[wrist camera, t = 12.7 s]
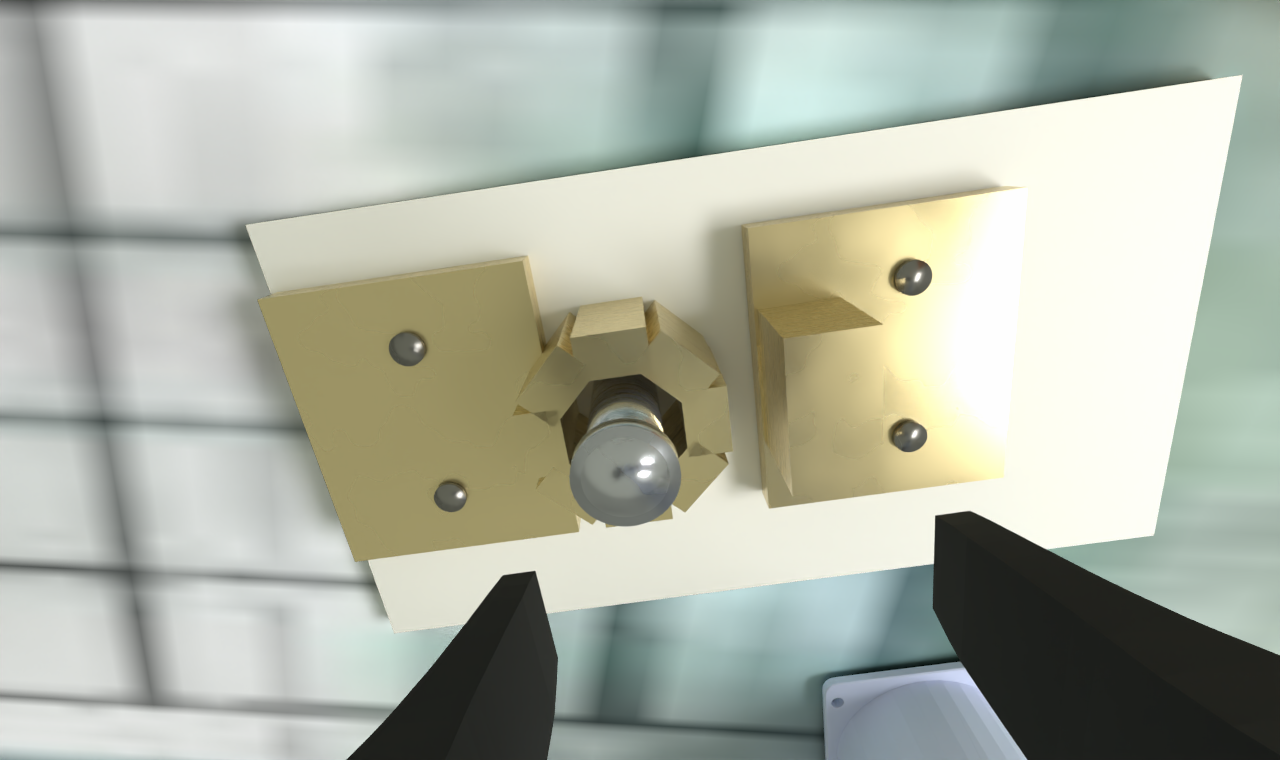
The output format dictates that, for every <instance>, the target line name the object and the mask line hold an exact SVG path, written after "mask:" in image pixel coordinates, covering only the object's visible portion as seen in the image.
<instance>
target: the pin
mask: <svg viewBox="0 0 1280 760" xmlns="http://www.w3.org/2000/svg"><path fill="white" fill-rule="evenodd" d="M569 479H570V487H571V491H572V493H573V496H574V498H575V500H576V501H577V503H578V504H579V506H580V507H581V508H582V509H583V510H584V511H585V512H586V513H587V514H589V515H590V516H591V517H593V518H594V519H596V520H598V521H600V522H603V523H606V524H609V525H614V526H622V527H627V526H637V525H641V524H644V523H647V522H650V521H652V520H654V519H656V518H657V517H659V516H660V515H662V514H663V513H664V512H665V511H666V510H667V509H668V508H669V507H670V506H671V505H672V503H673V502H674V500H675V499H676V496H677V494H678V492H679V489H680V484H681V469H680V463H679V458H678V454H677V451H676V449H675V447H674V445H673V443H672V442H671V440H670V439H669V438H668V436H667V435H666V434H665V433H664V432H663V425H662V419H661V412H660V406H659V399H658V393H657V386H656V384H655V383H653V382H652V381H650V380H649V379H648V378H646V377H645V376H643V375H642V374H637V375H630V376H623V377H616V378H608V379H601V380H594V383H593V390H592V397H591V405H590V412H589V419H588V426H587V433H586V434H585V435H584V436H583V437H582V439H581V440H580V441H579V443H578V444H577V446H576V448H575V451H574V453H573V457H572V461H571V467H570V475H569Z"/></svg>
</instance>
